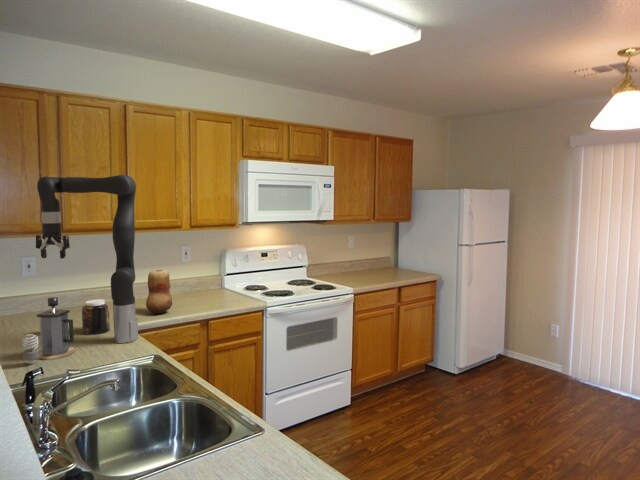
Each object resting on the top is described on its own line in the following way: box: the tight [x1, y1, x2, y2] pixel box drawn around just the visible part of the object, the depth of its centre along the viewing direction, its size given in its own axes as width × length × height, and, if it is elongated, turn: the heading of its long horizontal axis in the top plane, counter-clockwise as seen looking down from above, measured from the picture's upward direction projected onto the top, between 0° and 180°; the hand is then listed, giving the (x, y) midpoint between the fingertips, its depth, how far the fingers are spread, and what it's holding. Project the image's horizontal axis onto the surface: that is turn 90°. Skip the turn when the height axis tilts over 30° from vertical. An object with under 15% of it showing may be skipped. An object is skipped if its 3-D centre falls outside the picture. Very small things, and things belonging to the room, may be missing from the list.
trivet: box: [37, 346, 75, 361], centre depth 191 cm, size 14×14×1 cm
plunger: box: [47, 296, 59, 313], centre depth 190 cm, size 7×7×20 cm
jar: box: [81, 299, 111, 336], centre depth 222 cm, size 12×12×15 cm
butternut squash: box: [145, 268, 173, 315], centre depth 256 cm, size 14×13×25 cm
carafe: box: [36, 309, 75, 356], centre depth 190 cm, size 13×10×17 cm
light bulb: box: [21, 333, 40, 365], centre depth 179 cm, size 6×6×12 cm
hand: (53, 258), depth 204 cm, fingers open, 8 cm apart
